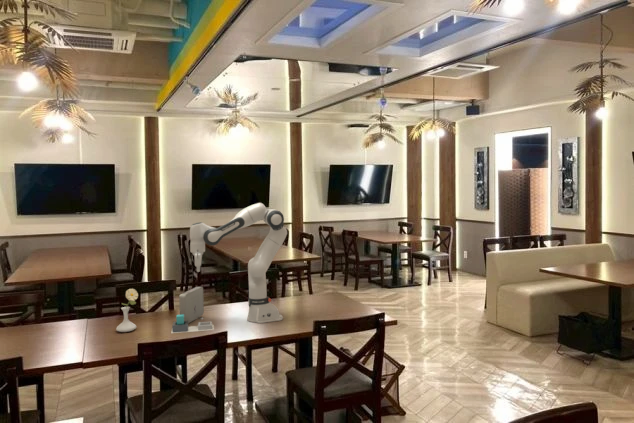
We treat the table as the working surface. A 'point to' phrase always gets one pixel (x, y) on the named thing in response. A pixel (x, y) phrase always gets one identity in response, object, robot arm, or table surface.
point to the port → (180, 327)
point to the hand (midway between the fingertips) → (198, 271)
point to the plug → (180, 319)
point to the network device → (192, 304)
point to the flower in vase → (127, 324)
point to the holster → (204, 325)
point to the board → (193, 329)
